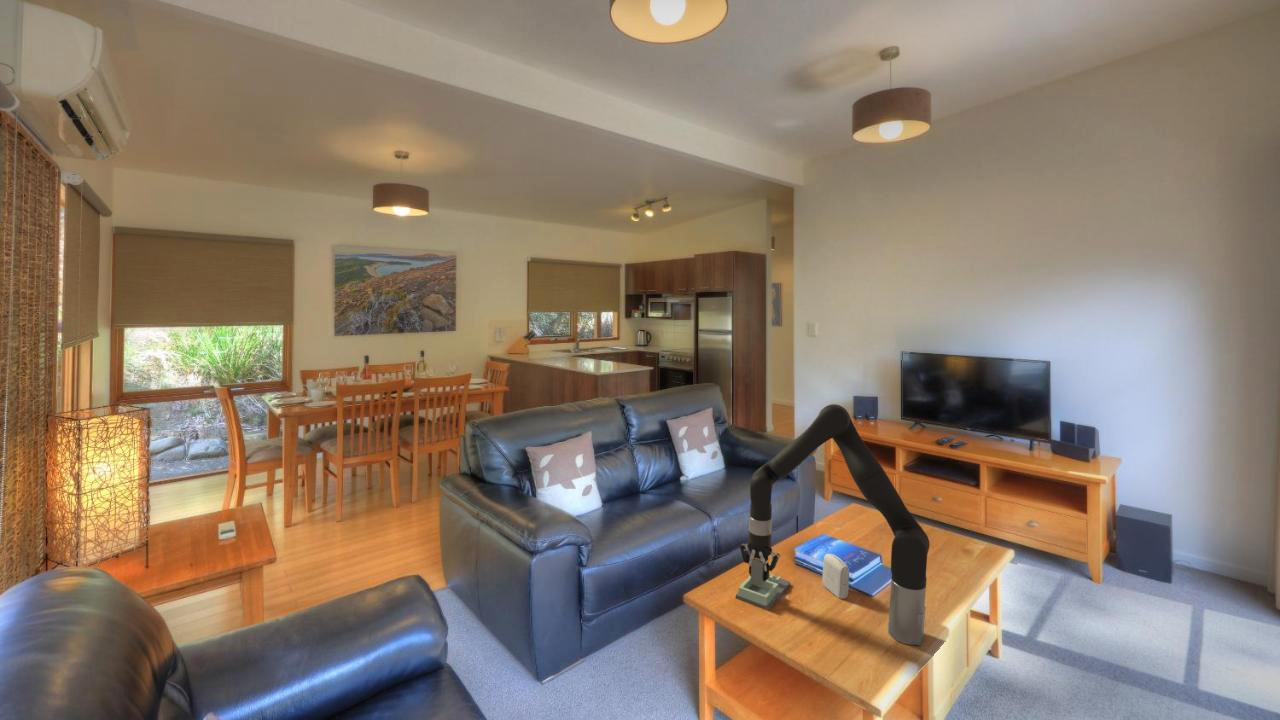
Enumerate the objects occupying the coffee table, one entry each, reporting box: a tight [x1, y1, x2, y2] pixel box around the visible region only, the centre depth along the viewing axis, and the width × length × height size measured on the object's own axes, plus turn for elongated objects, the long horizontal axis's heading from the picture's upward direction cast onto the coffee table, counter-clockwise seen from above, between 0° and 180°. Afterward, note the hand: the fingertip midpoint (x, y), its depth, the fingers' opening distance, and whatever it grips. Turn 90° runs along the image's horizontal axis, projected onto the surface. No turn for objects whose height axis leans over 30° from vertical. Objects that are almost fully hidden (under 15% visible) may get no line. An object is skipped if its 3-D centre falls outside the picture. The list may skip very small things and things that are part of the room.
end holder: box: [738, 575, 778, 606], centre depth 175 cm, size 10×10×3 cm
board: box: [735, 573, 791, 611], centre depth 178 cm, size 12×19×4 cm, turn 144°
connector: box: [751, 558, 767, 586], centre depth 174 cm, size 4×4×9 cm
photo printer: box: [821, 553, 850, 600], centre depth 178 cm, size 10×4×12 cm, turn 17°
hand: (758, 577), depth 174 cm, fingers closed on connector, 4 cm apart
